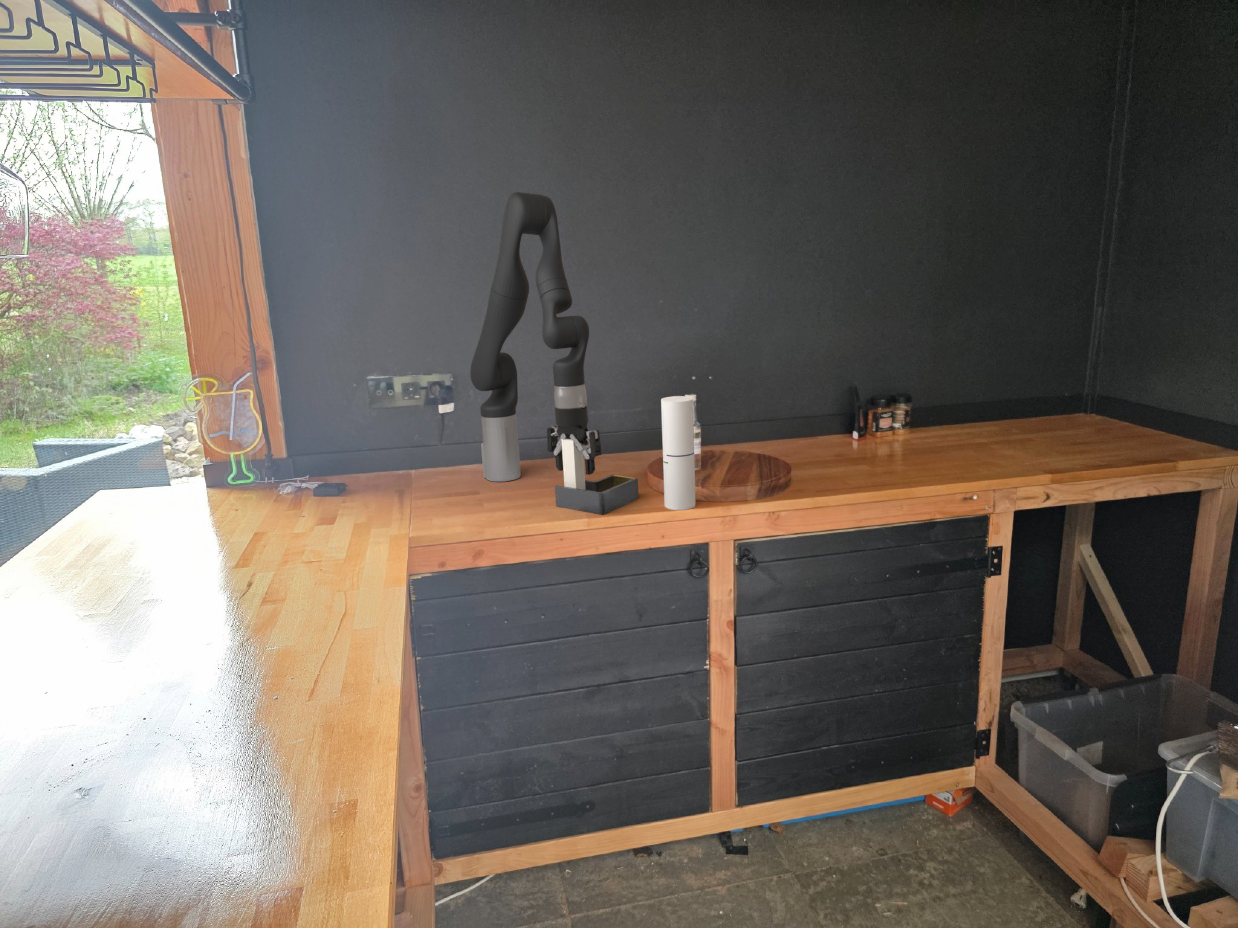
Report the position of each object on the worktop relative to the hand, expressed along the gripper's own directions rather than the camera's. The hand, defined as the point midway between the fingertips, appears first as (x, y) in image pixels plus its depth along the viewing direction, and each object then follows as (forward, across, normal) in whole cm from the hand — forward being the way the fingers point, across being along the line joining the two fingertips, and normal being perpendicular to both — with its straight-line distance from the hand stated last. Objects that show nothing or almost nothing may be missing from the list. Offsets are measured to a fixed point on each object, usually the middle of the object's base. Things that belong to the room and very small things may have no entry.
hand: (575, 471), depth 198 cm
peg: (+8, 0, 0) cm, 8 cm away
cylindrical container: (+8, +22, +10) cm, 26 cm away
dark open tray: (+8, +3, +3) cm, 9 cm away
